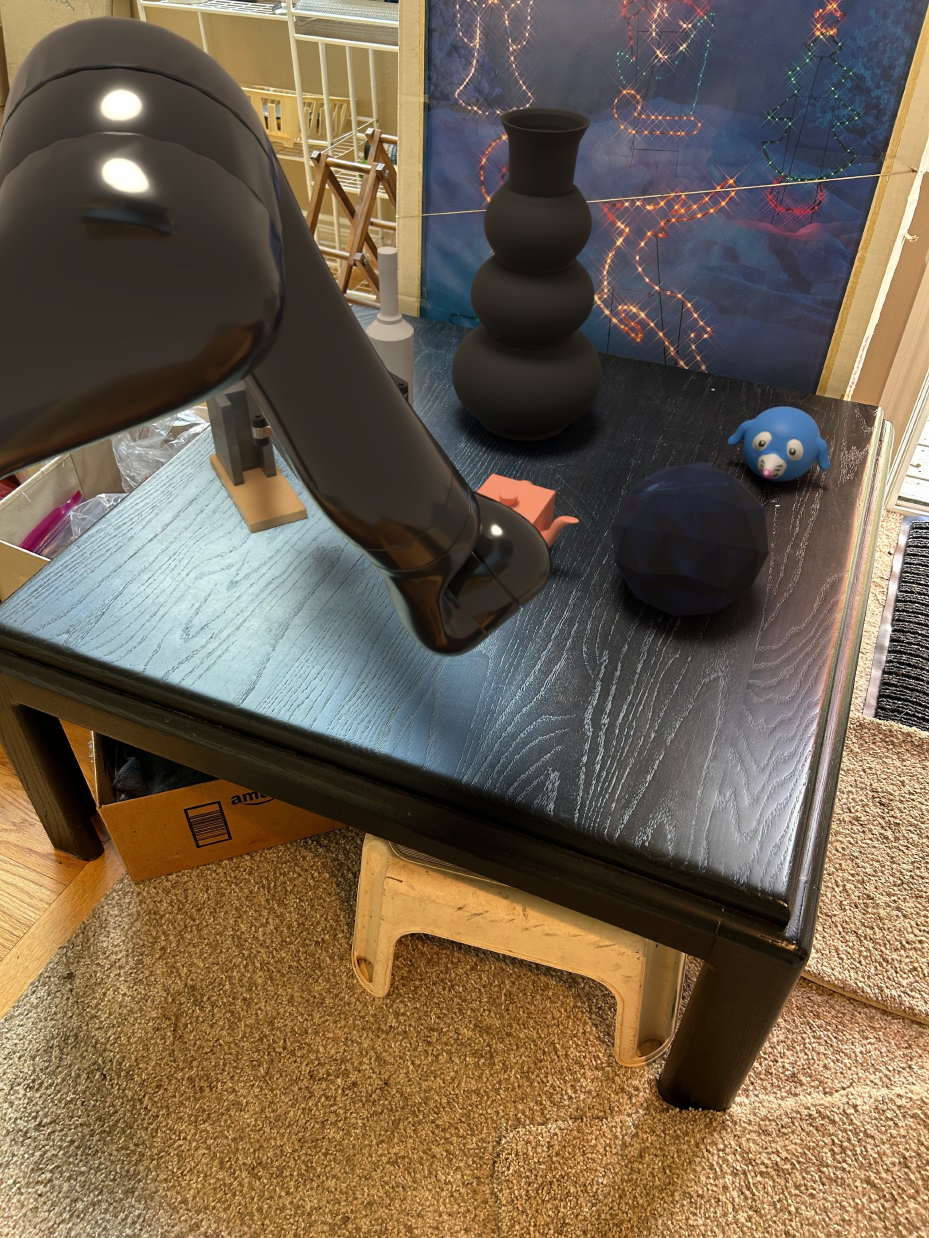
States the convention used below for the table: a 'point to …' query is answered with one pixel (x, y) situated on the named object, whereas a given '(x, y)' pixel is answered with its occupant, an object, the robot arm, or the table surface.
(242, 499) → the stand
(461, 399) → the vase
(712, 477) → the decorative orb
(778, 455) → the blue mole toy
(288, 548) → the table surface
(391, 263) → the bottle
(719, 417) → the table surface
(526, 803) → the table surface
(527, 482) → the teapot
